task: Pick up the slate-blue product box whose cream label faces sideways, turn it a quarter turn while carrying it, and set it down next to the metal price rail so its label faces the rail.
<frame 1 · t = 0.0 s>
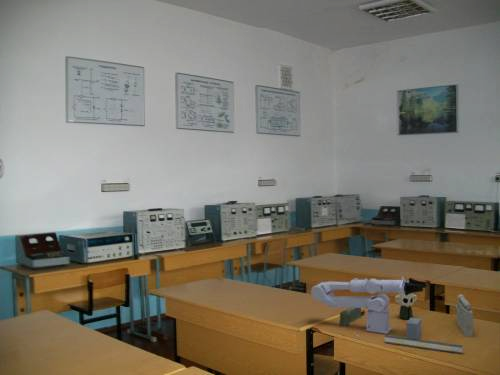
hand: (424, 286, 224), 22 cm above the table, tool horizontal, fingers open, 7 cm apart
handheld radio: (353, 320, 251), on the table
price rail: (422, 347, 211), on the table
geiger counter: (462, 328, 236), on the table
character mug: (406, 318, 253), on the table
product box: (413, 336, 225), on the table
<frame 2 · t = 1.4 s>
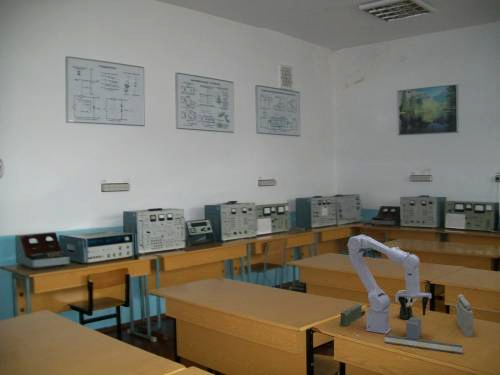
hand: (414, 314, 225), 10 cm above the table, tool pointing down, fingers open, 7 cm apart
nothing on the table moved.
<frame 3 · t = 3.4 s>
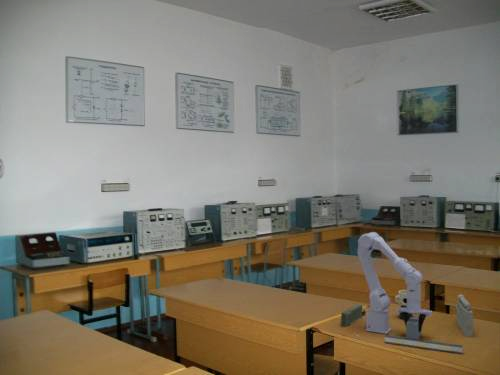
hand: (413, 330, 225), 3 cm above the table, tool pointing down, fingers closed on product box, 4 cm apart
product box: (414, 336, 225), on the table, touching gripper
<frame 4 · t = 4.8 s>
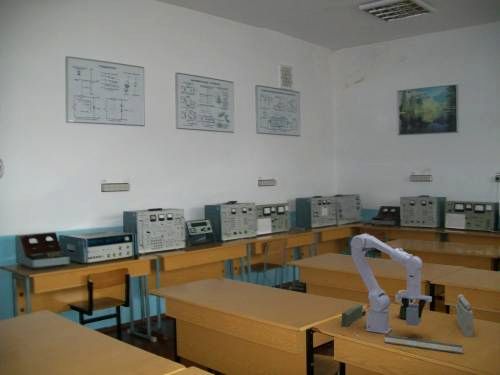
hand: (413, 316, 225), 9 cm above the table, tool pointing down, fingers closed on product box, 4 cm apart
product box: (413, 322, 225), point 6 cm above the table, touching gripper
everything else where it was.
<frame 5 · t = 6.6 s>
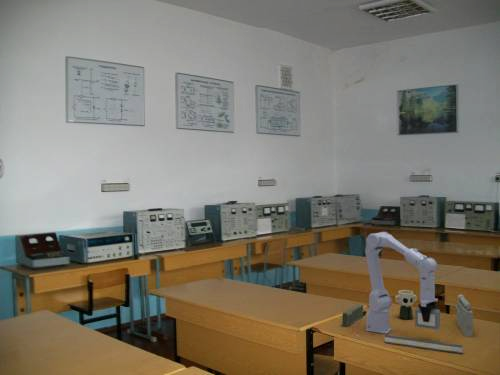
hand: (427, 320, 217), 9 cm above the table, tool pointing down, fingers closed on product box, 4 cm apart
product box: (427, 326, 217), point 7 cm above the table, touching gripper
when the fingers open (4 cm above the table, at t = 9.1 s): product box drops 1 cm, on the table.
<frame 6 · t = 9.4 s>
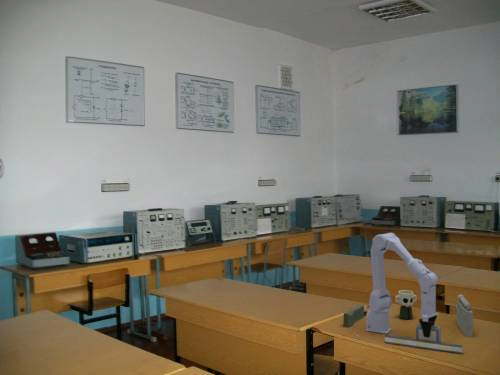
hand: (428, 334, 217), 4 cm above the table, tool pointing down, fingers open, 7 cm apart
product box: (428, 343, 217), on the table
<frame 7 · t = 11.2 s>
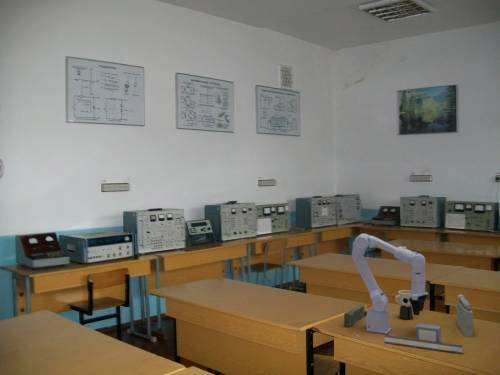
hand: (418, 312, 228), 9 cm above the table, tool pointing down, fingers open, 7 cm apart
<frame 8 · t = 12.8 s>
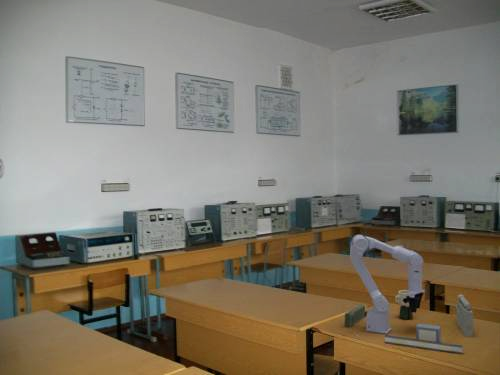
hand: (415, 310, 232), 9 cm above the table, tool pointing down, fingers open, 7 cm apart
at the end: product box inside the target area (0.1 cm from its centre), on the table; product box tilted 0°; the gripper is holding nothing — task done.
